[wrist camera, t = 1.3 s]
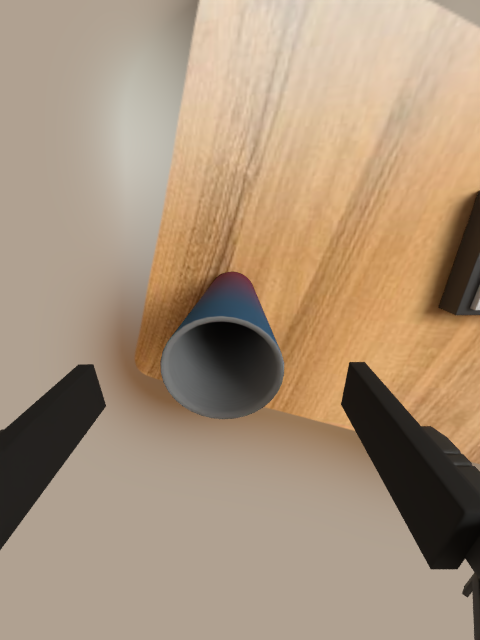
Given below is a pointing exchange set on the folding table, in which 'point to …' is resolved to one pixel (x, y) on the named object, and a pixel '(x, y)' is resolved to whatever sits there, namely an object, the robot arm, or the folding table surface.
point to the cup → (224, 353)
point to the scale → (465, 271)
